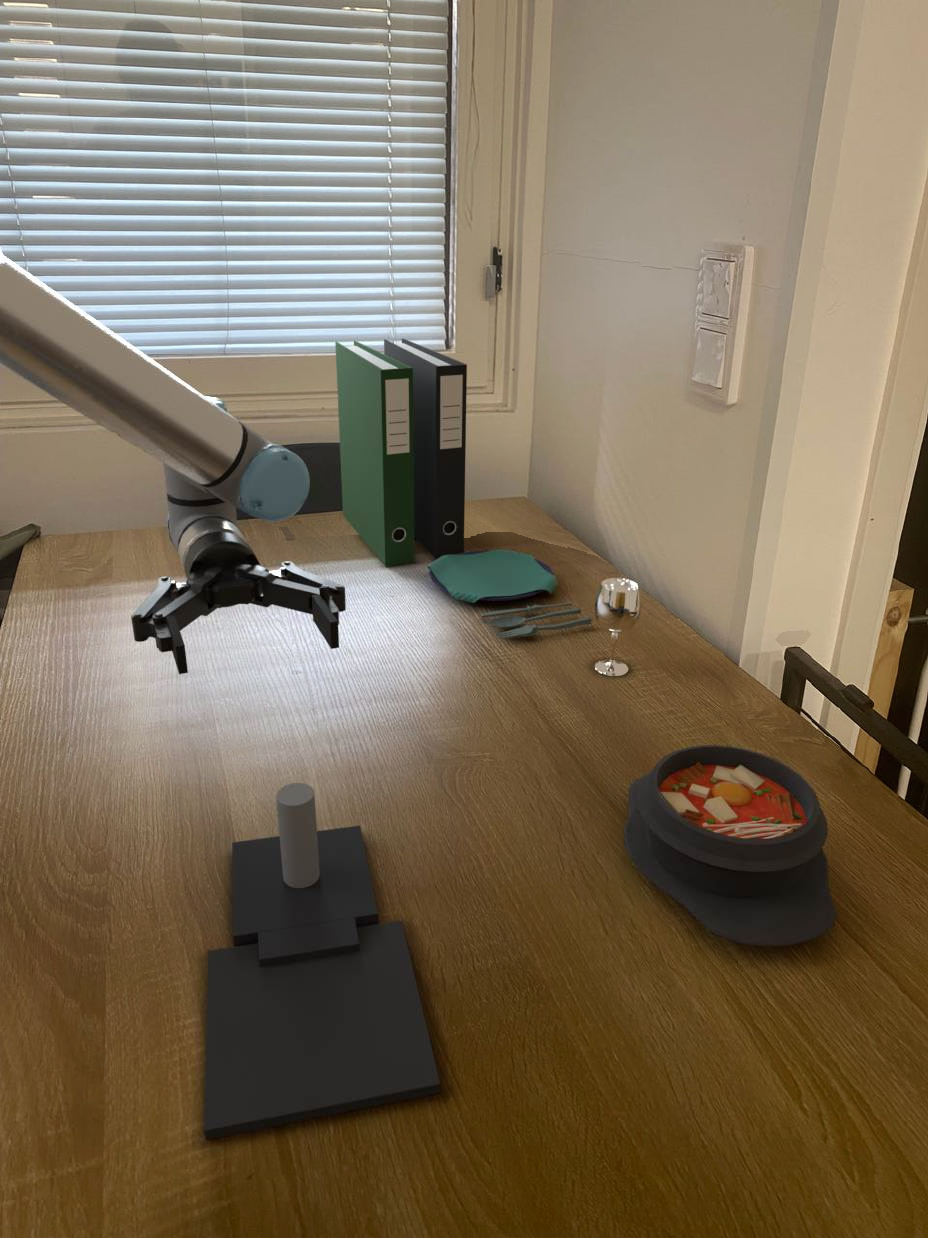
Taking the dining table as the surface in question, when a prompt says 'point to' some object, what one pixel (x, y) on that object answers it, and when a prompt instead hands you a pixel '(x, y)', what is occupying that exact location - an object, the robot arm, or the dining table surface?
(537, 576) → the cutlery set
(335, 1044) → the black pad
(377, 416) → the binder
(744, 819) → the casserole
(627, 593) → the wineglass
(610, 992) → the dining table surface
